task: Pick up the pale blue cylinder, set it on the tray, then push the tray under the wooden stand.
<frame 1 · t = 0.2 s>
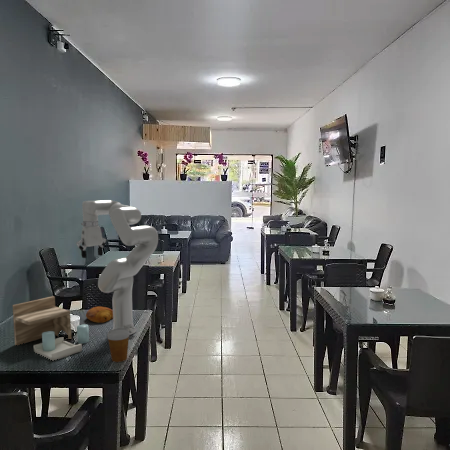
hand: (92, 256, 226), 36 cm above the table, tool pointing down, fingers open, 9 cm apart
pale blue cylinder: (83, 341, 203), on the table
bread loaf: (100, 319, 237), on the table
tray: (58, 351, 191), on the table
disposable coffee cup: (119, 359, 182), on the table
wooden stand: (43, 342, 203), on the table
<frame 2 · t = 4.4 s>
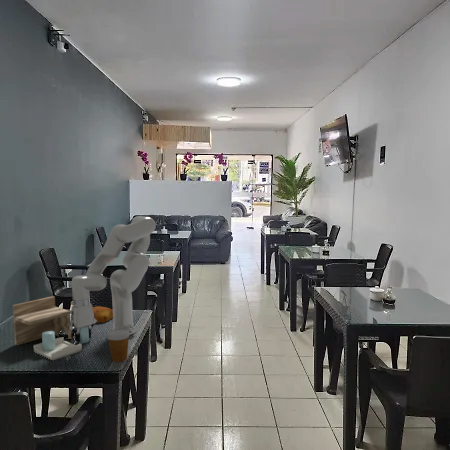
hand: (83, 339, 203), 1 cm above the table, tool pointing down, fingers closed on pale blue cylinder, 5 cm apart
pale blue cylinder: (83, 341, 203), on the table, touching gripper
everything else where it was.
when the fingers open (3 cm above the table, at t = 10.6 s): pale blue cylinder drops 2 cm, resting on tray.
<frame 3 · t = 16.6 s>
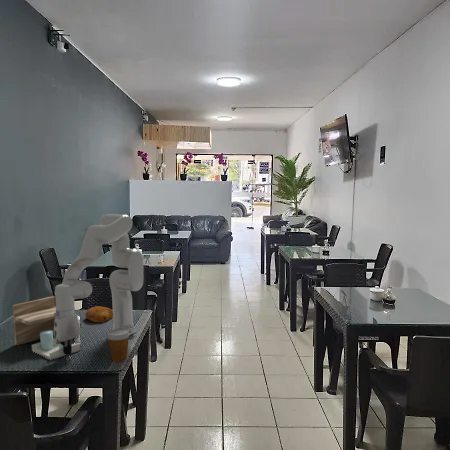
hand: (67, 353, 186), 1 cm above the table, tool pointing down, fingers closed
pale blue cylinder: (65, 349, 191), point 1 cm above the table, touching tray
tray: (56, 350, 192), on the table, touching gripper, pale blue cylinder
everything else where it was.
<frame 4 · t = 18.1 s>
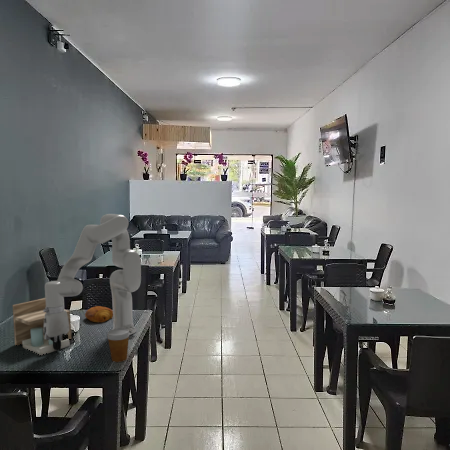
hand: (57, 349, 191), 1 cm above the table, tool pointing down, fingers closed
pale blue cylinder: (54, 345, 196), point 1 cm above the table, touching tray
tray: (46, 346, 197), on the table, touching gripper, pale blue cylinder
everything else where it was.
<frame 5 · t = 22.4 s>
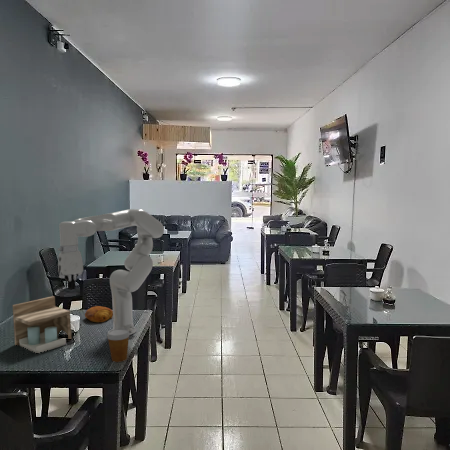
hand: (71, 289, 194), 27 cm above the table, tool pointing down, fingers closed
pale blue cylinder: (51, 344, 198), point 1 cm above the table, touching tray
tray: (42, 345, 199), on the table, touching pale blue cylinder
at the end: tray inside the target area (1.3 cm from its centre), on the table; pale blue cylinder 4.4 cm from the tray (horizontally); pale blue cylinder tilted 0° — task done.
